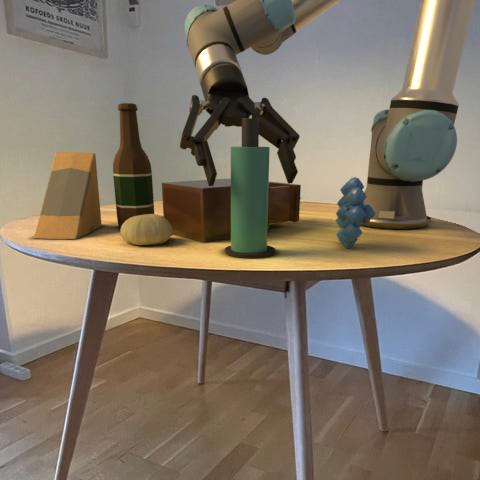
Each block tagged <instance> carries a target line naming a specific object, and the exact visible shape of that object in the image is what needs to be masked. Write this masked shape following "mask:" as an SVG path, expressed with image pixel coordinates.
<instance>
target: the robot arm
mask: <svg viewBox="0 0 480 480" xmlns="http://www.w3.org/2000/svg"><path fill="white" fill-rule="evenodd" d="M341 1H342V0H234V1H233V2H231V3H229V4H228V5H226V6H224V7H221V8H219V9H218V8H217V7H216V6H214V5H211V4H199V5H197V6H195V7H194V8H192V9H191V10H190V11H189V13H188V14H187V16H186V17H185V21H184V33H185V38H186V46H187V48H188V51H189V53H190V57H191V60H192V63H193V66H194V69H195V73H196V75H197V78H198V83H199V85H200V88H201V92H202V95H203V100H201V99H200V96H198V95H197V94H192V95H191V99H190V103H189V108H188V109H189V114H188V116H187V119H186V122H185V125H184V128H183V130H182V133H181V137H180V142H179V148H180V149H181V150H186V149H190V150H191V151H190V155H192V156H194V159H195V163H196V165H197V166H198V167H202V168H203V171H204V174H205V178H206V180H207V182H208V185H209V186H214V182H215V179H217V175H218V173H217V169H216V165H215V162H214V159H213V155H212V152H211V149H210V146H209V141H208V140H209V139H210V138H211V136H212V135H213V134H214V132H215V131H217V130H218V128H219V127H220V126H221V125H222V126H224V127H226V128H227V127H240V128H242V119H243V118H258V119H259V137H261V138H263V139H264V140H266V141H267V142H268V143H270V144H271V145H272V146H273V147H275V148H276V149H278V150H277V152H276V154H277V157H278V160H279V162H280V163H279V164H280V165H281V168H282V171H283V173H284V176H285V179H286V183H288V184H294V183H293V182H294V180H295V178H296V177H297V175H298V173H299V171H298V168H297V165H296V163H295V160H297V159H296V158H297V155H296V153H295V150H294V149H295V148H296V145H297V143H298V142H299V139H300V137H301V136H300V134H299V133H298V132H297V131H296V130H295V129H294V128H293V127H292V126H291V125H290V124H289V123H288V122H287V120H285V119H284V118H283V116H282V115H281V114H279V112H278V111H277V110H275V108H273V106H272V103H271V102H270V100H269V98H267V97H262V98H261V101H256V102H255V101H254V100H253V99H251V97H250V93H249V88H248V85H247V83H246V80H245V77H244V73H243V71H242V67H241V65H240V62H239V60H238V57H237V55H239V54H241V53H244V52H245V51H247V50H248V49H250V48H251V49H252V50H253V51H254V52H255V53H257V54H259V55H262V56H263V55H264V56H267V55H272V54H274V53H276V52H277V50H278V49H279V48H280V47H281V46H282V44H283V43H285V41H287V40H288V39H290V38H291V37H292V36H294V35H295V34H296V33H297V32H298V31H300V30H302V29H303V28H304V27H306V26H307V25H309V24H310V23H311V22H313V21H315V19H317V18H318V17H320V16H321V15H323V14H324V13H325V12H328V10H330V9H331V8H332V7H334V6H335V5H337V4H338V3H340V2H341ZM475 3H476V0H419V6H418V9H417V10H418V11H417V15H416V20H415V25H414V30H413V34H412V39H411V43H410V49H409V54H408V59H407V64H406V68H405V73H404V78H403V83H402V88H401V89H400V91H398V93H397V94H395V95H394V96H393V97H392V98H391V99H390V104H389V108H388V109H383V110H380V111H379V112H377V113H376V114H375V116H373V122H372V125H371V128H370V131H371V139H370V148H369V149H370V150H369V159H368V168H367V170H368V171H367V180H366V186H365V190H364V191H363V192H364V193H365V195H366V199H365V200H364V202H363V203H364V204H365V205H370V206H371V207H372V209H373V210H374V212H375V215H374V217H373V218H372V219H371V220H370V221H369V222H366V223H363V224H362V225H361V226H366V227H371V228H377V229H387V230H388V229H390V230H391V229H392V230H411V229H419V228H424V227H425V226H426V225H427V221H431V220H432V217H431V216H428V215H427V209H426V204H425V199H424V193H423V184H424V181H426V180H429V179H431V178H434V177H436V176H437V175H438V174H440V173H441V172H443V171H444V170H445V169H446V168H447V166H448V165H449V164H450V163H451V161H452V160H453V158H454V155H455V153H456V150H457V145H458V135H457V130H456V128H455V122H456V118H457V115H458V111H459V106H460V103H459V102H458V101H457V98H456V97H455V96H454V93H453V92H454V88H455V84H456V81H457V76H458V73H459V69H460V64H461V60H462V56H463V52H464V47H465V44H466V40H467V35H468V33H469V27H470V24H471V19H472V16H473V10H474V7H475ZM203 111H206V113H207V114H208V115H210V116H209V117H208V119H207V120H206V121H205V122H204V124H203V125H202V126H201V128H200V129H198V131H197V132H196V133H195V135H194V136H193V132H194V129H195V127H196V124H197V122H198V117H199V116H200V115H201V114H203Z"/></svg>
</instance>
